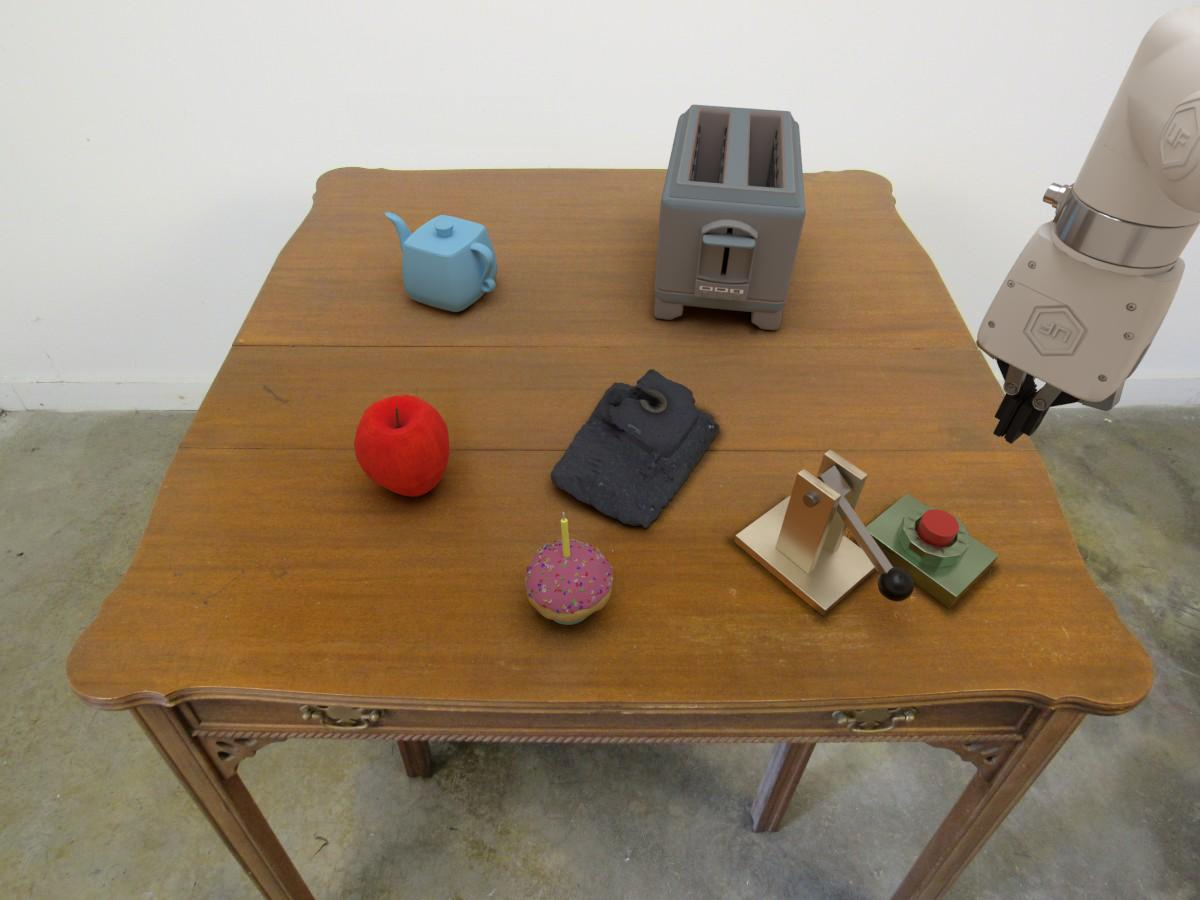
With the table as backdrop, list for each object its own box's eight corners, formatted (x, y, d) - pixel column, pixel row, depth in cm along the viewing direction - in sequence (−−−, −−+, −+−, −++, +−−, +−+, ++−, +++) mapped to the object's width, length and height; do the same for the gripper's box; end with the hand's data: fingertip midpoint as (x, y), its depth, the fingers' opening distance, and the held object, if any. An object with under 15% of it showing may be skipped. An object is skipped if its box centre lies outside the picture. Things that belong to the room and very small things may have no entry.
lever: (903, 592, 71) (927, 586, 69) (884, 610, 70) (907, 605, 67) (820, 471, 73) (840, 461, 70) (799, 486, 71) (819, 477, 69)
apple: (355, 511, 82) (327, 433, 73) (388, 449, 89) (366, 370, 80) (441, 524, 81) (424, 446, 72) (468, 460, 88) (454, 381, 79)
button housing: (990, 567, 78) (1006, 544, 75) (948, 609, 74) (963, 586, 71) (901, 505, 83) (912, 481, 81) (858, 541, 80) (868, 517, 77)
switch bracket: (877, 569, 77) (915, 488, 68) (822, 616, 73) (856, 537, 64) (788, 501, 84) (812, 419, 75) (733, 542, 80) (752, 459, 70)
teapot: (421, 257, 119) (408, 189, 111) (517, 284, 114) (512, 215, 106) (373, 296, 112) (356, 226, 103) (474, 327, 106) (465, 256, 98)
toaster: (648, 335, 105) (658, 200, 91) (670, 221, 128) (680, 99, 114) (780, 349, 103) (811, 213, 89) (778, 230, 127) (802, 107, 112)
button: (960, 535, 76) (966, 524, 75) (940, 553, 74) (946, 542, 73) (929, 514, 78) (934, 503, 77) (909, 531, 76) (915, 520, 75)
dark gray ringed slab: (528, 486, 85) (525, 458, 81) (621, 380, 98) (622, 352, 95) (646, 541, 80) (648, 512, 76) (727, 420, 93) (732, 392, 90)
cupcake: (521, 578, 76) (512, 502, 67) (601, 562, 77) (602, 486, 69) (536, 651, 70) (528, 578, 62) (622, 633, 72) (627, 559, 63)
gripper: (986, 202, 51) (906, 404, 64) (1225, 295, 43) (1078, 505, 55) (1040, 173, 54) (954, 370, 67) (1271, 253, 46) (1122, 461, 59)
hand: (1010, 431), depth 61 cm, fingers closed
